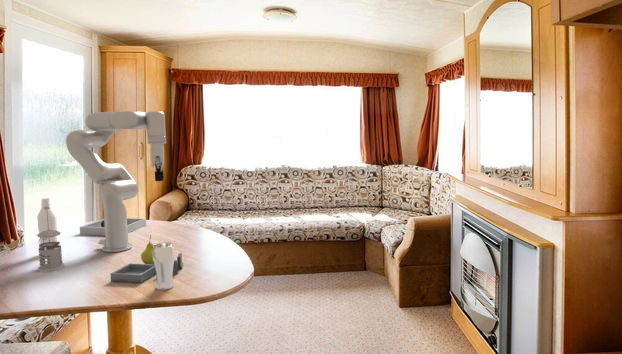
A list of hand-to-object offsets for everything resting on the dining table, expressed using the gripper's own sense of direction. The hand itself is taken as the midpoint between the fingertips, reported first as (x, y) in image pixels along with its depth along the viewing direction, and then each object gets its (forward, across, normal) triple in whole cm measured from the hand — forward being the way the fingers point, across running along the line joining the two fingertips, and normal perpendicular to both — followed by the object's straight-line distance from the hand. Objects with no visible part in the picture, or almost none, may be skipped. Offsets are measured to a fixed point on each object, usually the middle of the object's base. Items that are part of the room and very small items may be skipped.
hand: (159, 179), depth 182 cm
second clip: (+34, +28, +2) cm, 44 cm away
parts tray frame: (+32, -60, -27) cm, 73 cm away
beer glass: (+34, +42, +1) cm, 54 cm away
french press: (+33, +3, -44) cm, 54 cm away
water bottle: (+32, -18, -49) cm, 61 cm away
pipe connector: (+32, -59, -28) cm, 73 cm away
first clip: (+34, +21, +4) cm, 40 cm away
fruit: (+34, +14, -5) cm, 37 cm away
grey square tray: (+33, +27, -10) cm, 44 cm away
